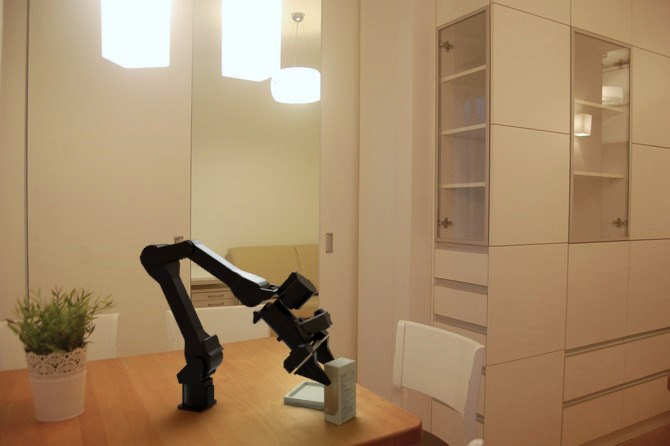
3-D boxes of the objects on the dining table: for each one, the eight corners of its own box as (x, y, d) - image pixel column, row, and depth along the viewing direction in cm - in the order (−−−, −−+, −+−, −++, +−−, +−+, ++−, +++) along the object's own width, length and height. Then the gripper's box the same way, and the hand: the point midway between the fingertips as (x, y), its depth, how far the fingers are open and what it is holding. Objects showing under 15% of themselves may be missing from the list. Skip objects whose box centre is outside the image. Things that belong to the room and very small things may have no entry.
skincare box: (341, 411, 104) (341, 356, 104) (357, 416, 101) (357, 360, 101) (322, 420, 99) (322, 363, 99) (338, 426, 96) (338, 367, 96)
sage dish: (283, 403, 108) (283, 396, 108) (304, 386, 119) (304, 380, 119) (331, 410, 104) (331, 403, 104) (349, 392, 115) (349, 386, 115)
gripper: (298, 306, 92) (353, 365, 90) (319, 292, 110) (366, 341, 108) (260, 344, 94) (314, 403, 91) (288, 324, 112) (333, 373, 110)
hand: (334, 377), depth 100 cm, fingers open, 9 cm apart
